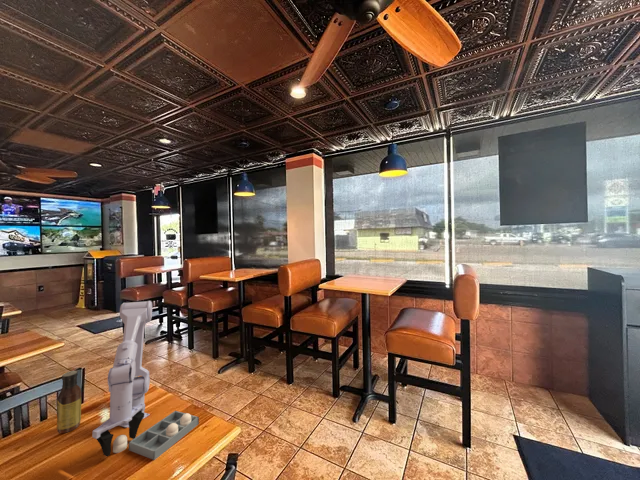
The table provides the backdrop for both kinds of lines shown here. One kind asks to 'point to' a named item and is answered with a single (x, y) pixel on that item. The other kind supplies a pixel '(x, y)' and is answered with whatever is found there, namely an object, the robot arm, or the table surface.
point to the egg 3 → (185, 419)
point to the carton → (161, 436)
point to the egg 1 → (120, 444)
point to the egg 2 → (172, 430)
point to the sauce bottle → (69, 403)
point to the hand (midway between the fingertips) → (120, 445)
